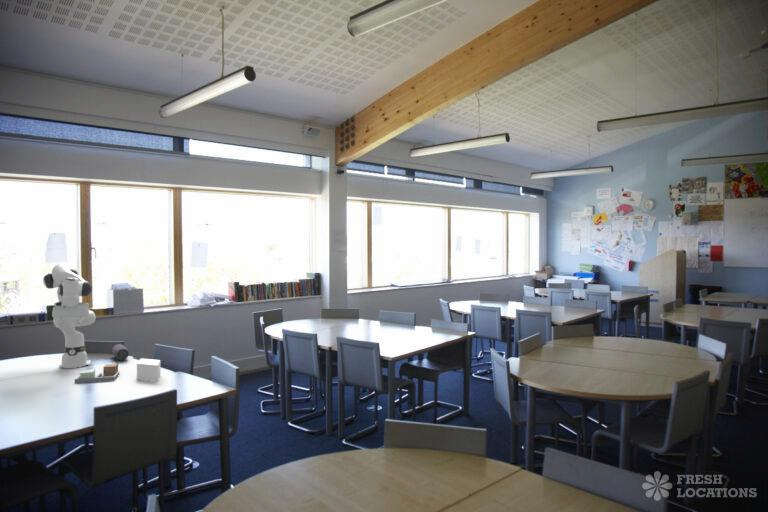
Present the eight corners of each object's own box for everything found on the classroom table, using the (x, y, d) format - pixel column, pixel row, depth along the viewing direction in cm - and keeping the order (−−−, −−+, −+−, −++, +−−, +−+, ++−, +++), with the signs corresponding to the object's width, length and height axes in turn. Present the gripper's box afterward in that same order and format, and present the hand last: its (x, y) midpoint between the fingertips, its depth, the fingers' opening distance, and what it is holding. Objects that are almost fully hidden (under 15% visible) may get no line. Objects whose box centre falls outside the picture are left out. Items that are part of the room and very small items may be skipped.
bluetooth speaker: (111, 356, 365) (111, 344, 365) (125, 355, 370) (125, 342, 370) (115, 362, 346) (115, 348, 346) (129, 360, 352) (129, 347, 352)
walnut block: (108, 370, 322) (108, 362, 322) (120, 370, 324) (120, 361, 324) (103, 376, 307) (103, 366, 307) (115, 375, 310) (115, 366, 310)
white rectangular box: (145, 384, 289) (145, 367, 289) (128, 375, 309) (129, 360, 309) (169, 379, 300) (169, 363, 300) (152, 371, 320) (152, 356, 320)
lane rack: (81, 377, 303) (81, 373, 303) (119, 374, 310) (119, 371, 310) (74, 383, 289) (74, 379, 289) (114, 380, 296) (114, 376, 296)
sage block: (82, 379, 298) (82, 370, 298) (94, 378, 301) (95, 369, 301) (80, 382, 291) (80, 373, 291) (93, 381, 294) (93, 372, 294)
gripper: (90, 301, 311) (90, 322, 311) (54, 302, 305) (54, 323, 305) (88, 302, 305) (88, 324, 305) (51, 303, 299) (51, 325, 299)
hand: (70, 324), depth 305 cm, fingers open, 8 cm apart
